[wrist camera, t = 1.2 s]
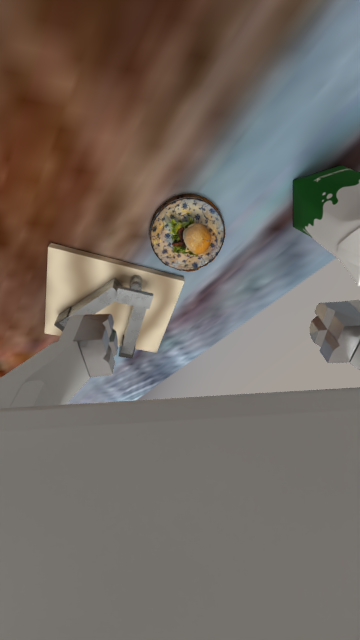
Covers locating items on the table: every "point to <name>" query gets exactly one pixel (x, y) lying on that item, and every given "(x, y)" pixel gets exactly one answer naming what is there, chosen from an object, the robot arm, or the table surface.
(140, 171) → the table surface
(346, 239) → the milk carton
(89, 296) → the tongs arm
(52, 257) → the board
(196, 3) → the table surface
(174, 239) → the burger
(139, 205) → the table surface
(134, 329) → the tongs fixed
